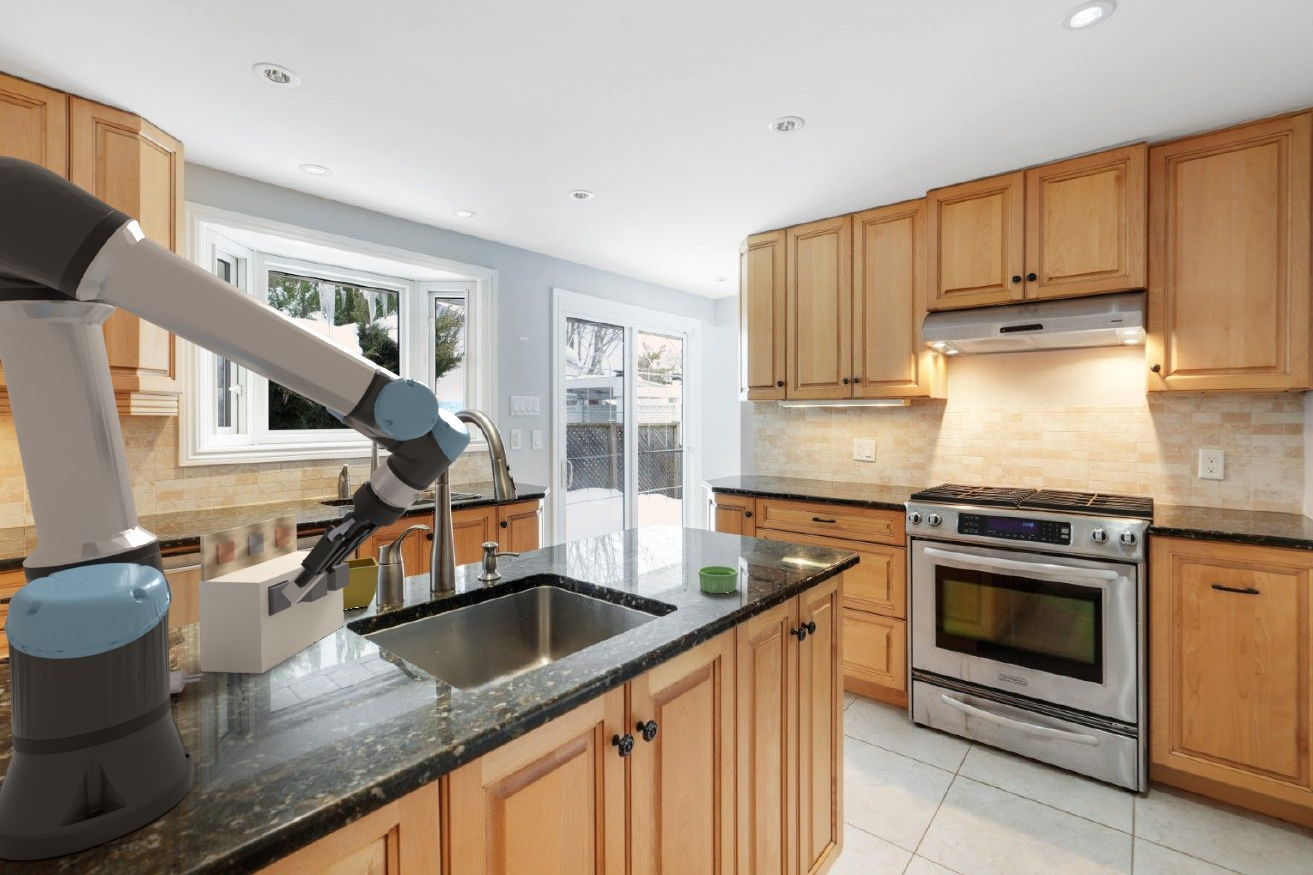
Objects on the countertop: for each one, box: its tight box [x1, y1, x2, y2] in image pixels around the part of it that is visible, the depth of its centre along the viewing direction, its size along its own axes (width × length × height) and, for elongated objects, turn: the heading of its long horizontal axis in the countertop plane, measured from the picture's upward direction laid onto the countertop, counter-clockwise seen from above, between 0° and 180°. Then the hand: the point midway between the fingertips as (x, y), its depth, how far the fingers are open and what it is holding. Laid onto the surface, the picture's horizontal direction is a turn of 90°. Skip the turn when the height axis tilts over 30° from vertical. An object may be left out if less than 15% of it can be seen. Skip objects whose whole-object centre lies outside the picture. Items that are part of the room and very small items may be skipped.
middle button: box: [299, 572, 327, 602], centre depth 104 cm, size 4×3×4 cm
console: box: [197, 550, 345, 675], centre depth 104 cm, size 21×10×14 cm, turn 175°
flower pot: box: [342, 556, 379, 610], centre depth 126 cm, size 9×9×9 cm
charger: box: [170, 669, 204, 695], centre depth 84 cm, size 5×9×15 cm
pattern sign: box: [199, 513, 298, 581], centre depth 104 cm, size 21×1×7 cm, turn 175°
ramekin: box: [697, 565, 739, 594], centre depth 139 cm, size 9×9×4 cm
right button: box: [325, 563, 349, 591], centre depth 110 cm, size 4×3×4 cm
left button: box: [268, 582, 291, 614], centre depth 97 cm, size 4×3×4 cm
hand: (290, 596), depth 97 cm, fingers closed
